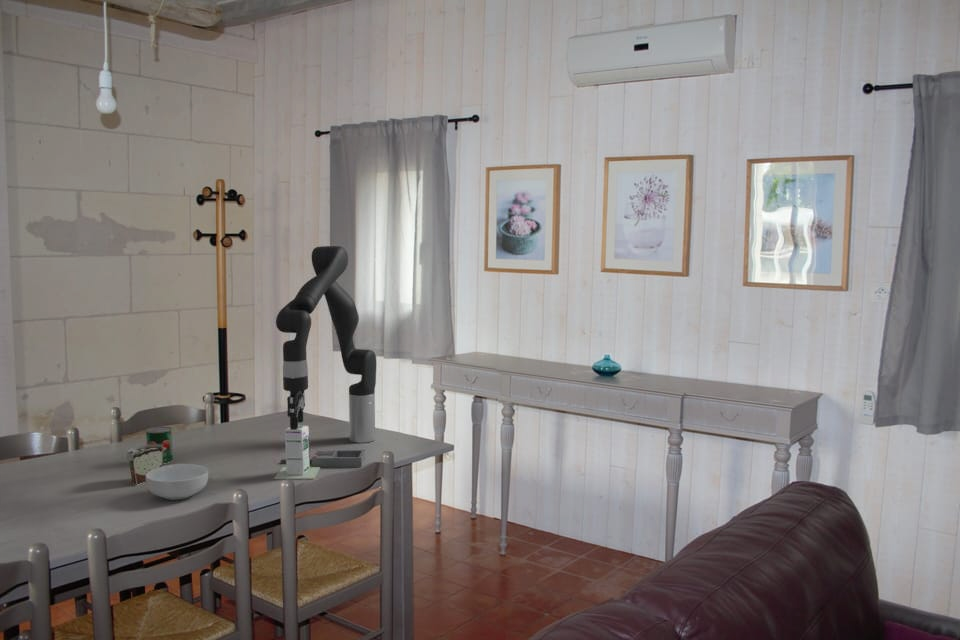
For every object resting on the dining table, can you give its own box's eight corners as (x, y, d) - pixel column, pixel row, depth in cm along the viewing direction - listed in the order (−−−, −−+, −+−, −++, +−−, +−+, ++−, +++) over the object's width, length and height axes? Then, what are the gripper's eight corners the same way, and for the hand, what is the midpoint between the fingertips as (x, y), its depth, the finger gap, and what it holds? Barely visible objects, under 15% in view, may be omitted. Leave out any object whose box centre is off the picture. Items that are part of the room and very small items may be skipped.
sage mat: (282, 468, 263) (282, 467, 263) (320, 468, 263) (320, 466, 263) (274, 479, 251) (274, 478, 251) (313, 479, 251) (313, 478, 251)
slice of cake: (151, 473, 257) (150, 442, 256) (165, 476, 254) (164, 444, 253) (118, 484, 246) (116, 451, 245) (132, 487, 243) (131, 454, 242)
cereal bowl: (135, 504, 228) (134, 480, 227) (161, 486, 244) (160, 463, 244) (195, 505, 227) (194, 481, 226) (217, 487, 244) (217, 464, 243)
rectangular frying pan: (283, 458, 274) (283, 448, 273) (365, 458, 274) (365, 448, 274) (276, 467, 264) (276, 457, 264) (361, 467, 264) (361, 456, 264)
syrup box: (303, 475, 254) (302, 429, 252) (285, 474, 255) (284, 428, 253) (310, 470, 260) (309, 425, 258) (292, 469, 260) (291, 424, 259)
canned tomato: (166, 457, 276) (165, 425, 275) (177, 462, 270) (175, 429, 269) (143, 461, 270) (141, 429, 269) (153, 466, 265) (151, 433, 263)
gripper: (288, 370, 261) (289, 420, 263) (277, 378, 246) (279, 431, 248) (311, 370, 261) (313, 420, 263) (303, 378, 247) (304, 431, 248)
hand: (296, 425), depth 255 cm, fingers open, 8 cm apart
